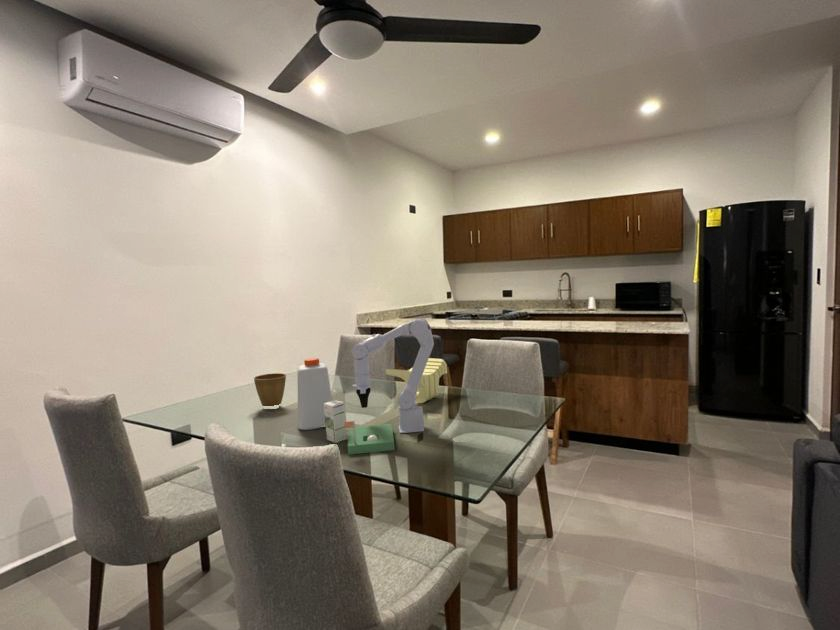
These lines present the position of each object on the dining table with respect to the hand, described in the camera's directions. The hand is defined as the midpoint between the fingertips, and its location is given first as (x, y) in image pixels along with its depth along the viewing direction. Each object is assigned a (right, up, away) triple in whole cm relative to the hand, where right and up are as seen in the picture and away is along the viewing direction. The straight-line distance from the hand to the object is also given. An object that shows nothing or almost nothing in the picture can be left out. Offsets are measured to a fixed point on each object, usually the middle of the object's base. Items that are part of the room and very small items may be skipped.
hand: (364, 407), depth 177 cm
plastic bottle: (-22, -10, +12) cm, 27 cm away
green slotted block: (+4, -10, -13) cm, 17 cm away
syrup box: (-9, -11, -8) cm, 17 cm away
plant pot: (-50, -9, +42) cm, 66 cm away
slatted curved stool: (+22, -5, +43) cm, 48 cm away
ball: (+5, -8, -18) cm, 20 cm away
